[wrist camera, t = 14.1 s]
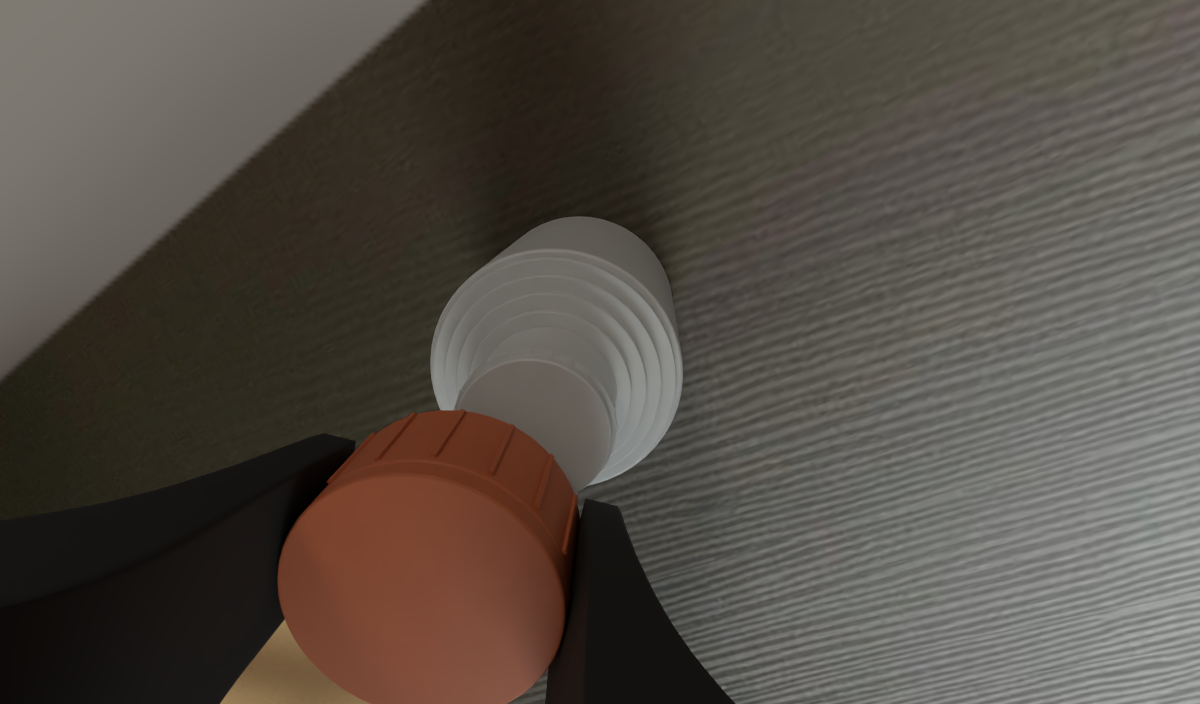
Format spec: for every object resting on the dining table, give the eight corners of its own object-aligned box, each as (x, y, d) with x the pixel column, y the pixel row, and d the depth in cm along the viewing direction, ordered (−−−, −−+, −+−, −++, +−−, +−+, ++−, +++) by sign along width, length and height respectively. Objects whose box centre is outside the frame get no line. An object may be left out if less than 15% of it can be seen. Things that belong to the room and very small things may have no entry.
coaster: (162, 573, 26) (152, 583, 26) (346, 564, 25) (339, 574, 25) (216, 723, 28) (208, 735, 28) (386, 718, 28) (380, 730, 27)
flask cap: (318, 415, 12) (240, 481, 10) (567, 398, 11) (547, 463, 9) (370, 623, 13) (311, 724, 11) (593, 615, 13) (582, 717, 10)
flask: (459, 260, 21) (318, 352, 12) (629, 184, 20) (615, 223, 11) (538, 418, 23) (465, 604, 14) (700, 355, 22) (738, 512, 13)
